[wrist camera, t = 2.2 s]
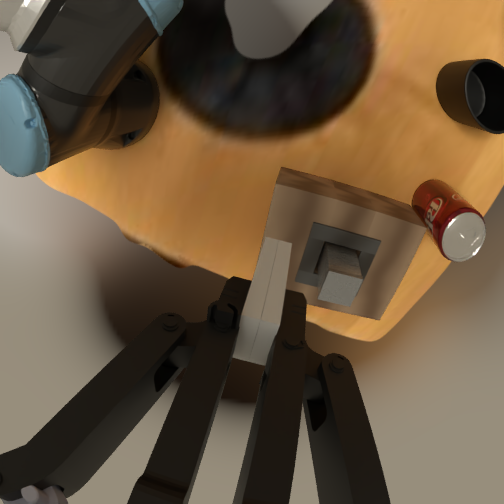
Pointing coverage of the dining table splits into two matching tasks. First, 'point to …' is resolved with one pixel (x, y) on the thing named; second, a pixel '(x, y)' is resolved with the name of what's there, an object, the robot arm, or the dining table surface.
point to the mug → (473, 93)
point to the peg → (338, 274)
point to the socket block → (343, 237)
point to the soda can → (449, 220)
